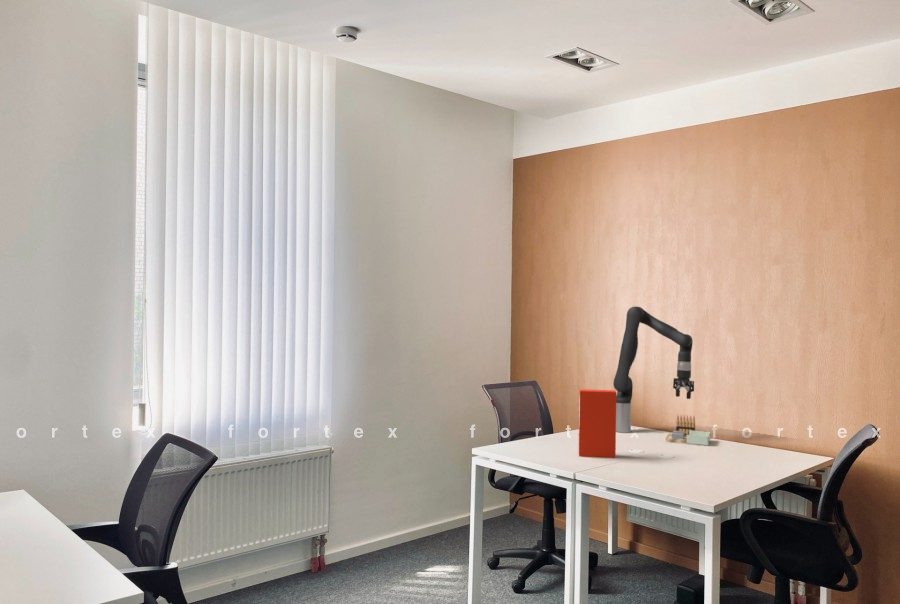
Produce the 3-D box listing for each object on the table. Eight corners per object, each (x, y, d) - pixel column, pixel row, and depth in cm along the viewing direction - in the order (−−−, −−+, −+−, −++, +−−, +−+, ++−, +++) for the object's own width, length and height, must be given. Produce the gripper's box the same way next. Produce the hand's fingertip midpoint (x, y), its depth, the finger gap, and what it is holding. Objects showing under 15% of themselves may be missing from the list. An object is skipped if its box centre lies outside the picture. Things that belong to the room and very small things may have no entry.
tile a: (672, 436, 371) (672, 431, 371) (673, 434, 376) (673, 430, 376) (684, 437, 368) (684, 432, 369) (685, 435, 373) (685, 431, 373)
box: (686, 444, 359) (686, 434, 360) (689, 439, 374) (689, 430, 374) (708, 446, 355) (708, 436, 355) (710, 441, 369) (710, 432, 369)
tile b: (671, 438, 365) (671, 433, 365) (672, 436, 369) (672, 432, 369) (683, 439, 362) (683, 434, 362) (683, 437, 367) (683, 433, 367)
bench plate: (665, 441, 365) (665, 438, 365) (668, 437, 378) (668, 434, 378) (686, 443, 360) (686, 440, 360) (689, 439, 373) (689, 435, 373)
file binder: (615, 458, 320) (616, 392, 321) (579, 456, 323) (580, 390, 324) (614, 454, 328) (614, 390, 329) (578, 453, 331) (579, 389, 332)
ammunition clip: (695, 436, 385) (695, 415, 385) (695, 436, 383) (695, 415, 383) (676, 434, 389) (676, 414, 389) (675, 435, 387) (675, 414, 388)
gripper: (670, 368, 383) (669, 396, 383) (687, 370, 370) (686, 399, 370) (680, 368, 386) (679, 395, 386) (698, 370, 373) (697, 399, 372)
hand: (683, 397), depth 378 cm, fingers open, 8 cm apart
